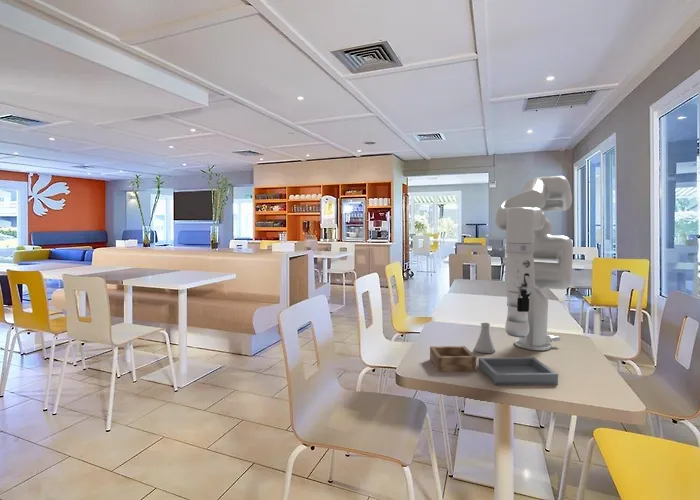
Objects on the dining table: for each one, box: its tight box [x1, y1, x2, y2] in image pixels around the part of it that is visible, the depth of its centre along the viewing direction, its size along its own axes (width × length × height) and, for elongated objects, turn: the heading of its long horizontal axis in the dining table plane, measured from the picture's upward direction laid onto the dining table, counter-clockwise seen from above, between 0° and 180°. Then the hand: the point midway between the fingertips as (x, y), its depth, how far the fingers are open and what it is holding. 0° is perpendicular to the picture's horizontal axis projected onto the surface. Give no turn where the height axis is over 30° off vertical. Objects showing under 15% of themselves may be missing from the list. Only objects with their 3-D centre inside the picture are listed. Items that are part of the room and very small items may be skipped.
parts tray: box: [477, 356, 559, 386], centre depth 119 cm, size 18×14×3 cm
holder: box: [429, 345, 477, 373], centre depth 128 cm, size 12×11×4 cm
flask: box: [474, 322, 496, 354], centre depth 142 cm, size 7×7×10 cm
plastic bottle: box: [504, 281, 529, 338], centre depth 117 cm, size 6×7×20 cm
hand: (517, 308), depth 118 cm, fingers closed on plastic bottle, 6 cm apart
